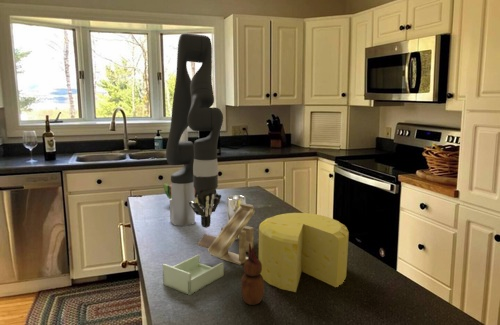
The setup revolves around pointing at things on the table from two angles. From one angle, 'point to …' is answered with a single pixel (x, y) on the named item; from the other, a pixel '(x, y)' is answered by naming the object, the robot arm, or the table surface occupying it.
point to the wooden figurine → (252, 280)
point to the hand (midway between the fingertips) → (205, 226)
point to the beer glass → (234, 206)
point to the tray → (191, 275)
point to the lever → (228, 232)
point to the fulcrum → (241, 246)
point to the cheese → (302, 249)
